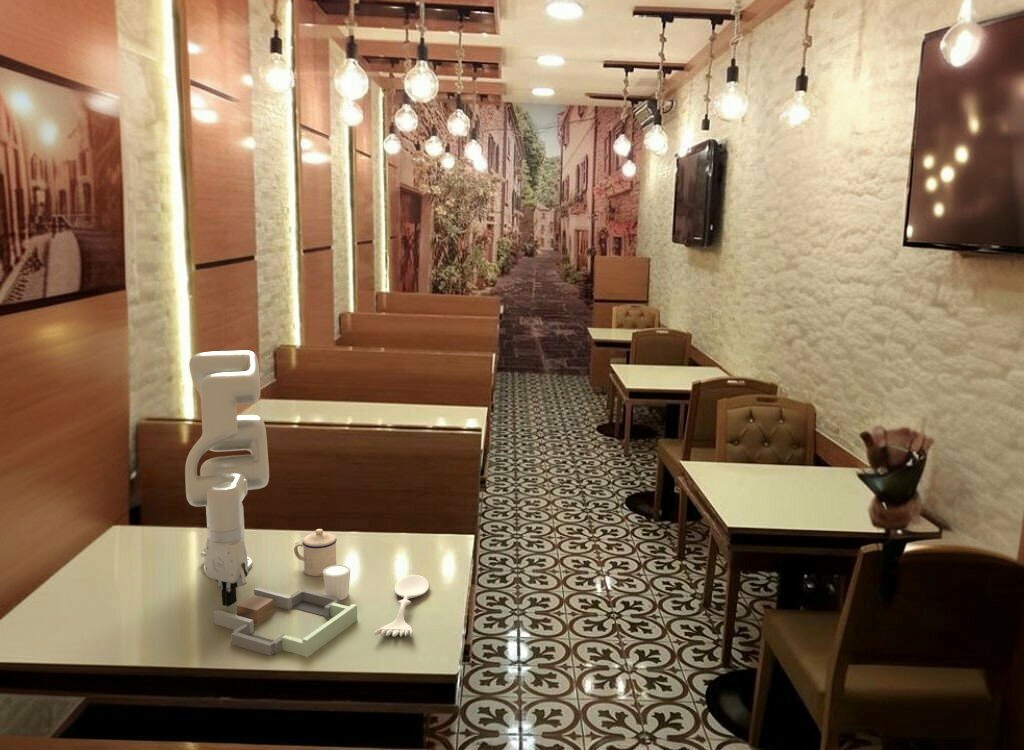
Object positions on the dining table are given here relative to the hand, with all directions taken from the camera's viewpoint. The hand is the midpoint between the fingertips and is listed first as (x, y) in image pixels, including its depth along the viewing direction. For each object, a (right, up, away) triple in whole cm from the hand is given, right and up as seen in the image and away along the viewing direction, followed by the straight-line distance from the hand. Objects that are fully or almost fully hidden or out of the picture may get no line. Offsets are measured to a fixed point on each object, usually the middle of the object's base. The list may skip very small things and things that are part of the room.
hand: (229, 603), depth 193 cm
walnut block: (+8, -2, -3) cm, 9 cm away
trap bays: (+17, -3, -7) cm, 18 cm away
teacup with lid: (+15, +3, +23) cm, 28 cm away
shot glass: (+25, 0, +8) cm, 26 cm away
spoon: (+43, -2, +1) cm, 43 cm away
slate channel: (+15, -3, -6) cm, 16 cm away
